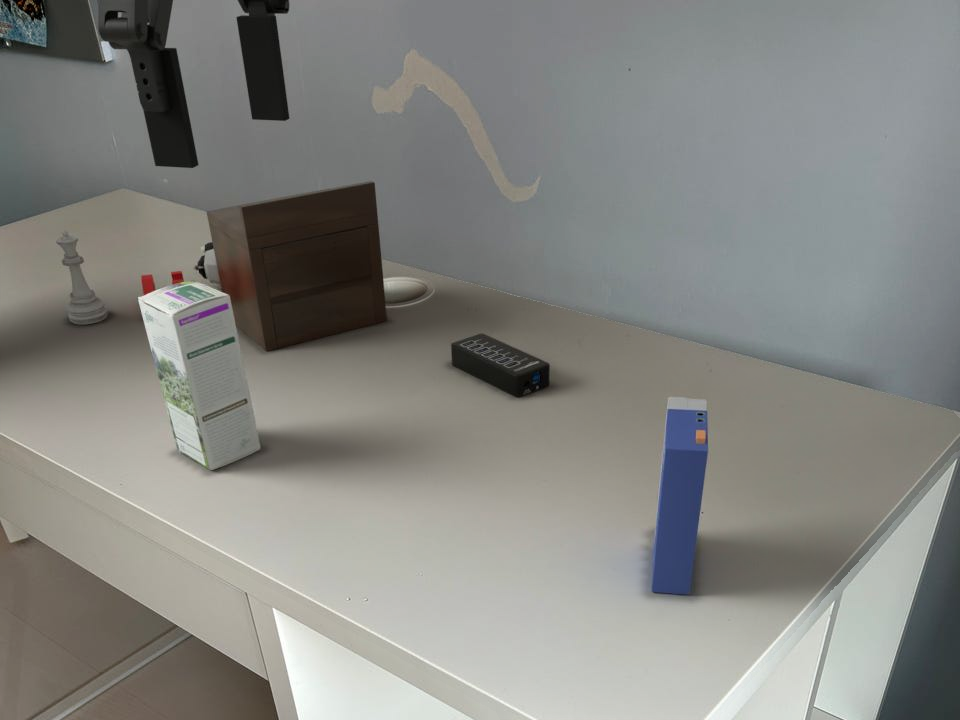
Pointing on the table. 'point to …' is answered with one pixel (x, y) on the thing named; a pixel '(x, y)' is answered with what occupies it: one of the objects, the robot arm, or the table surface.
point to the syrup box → (201, 372)
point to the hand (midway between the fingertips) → (227, 141)
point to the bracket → (149, 283)
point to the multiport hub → (500, 365)
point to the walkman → (680, 494)
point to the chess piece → (80, 287)
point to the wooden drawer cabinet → (301, 264)
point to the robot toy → (208, 264)
